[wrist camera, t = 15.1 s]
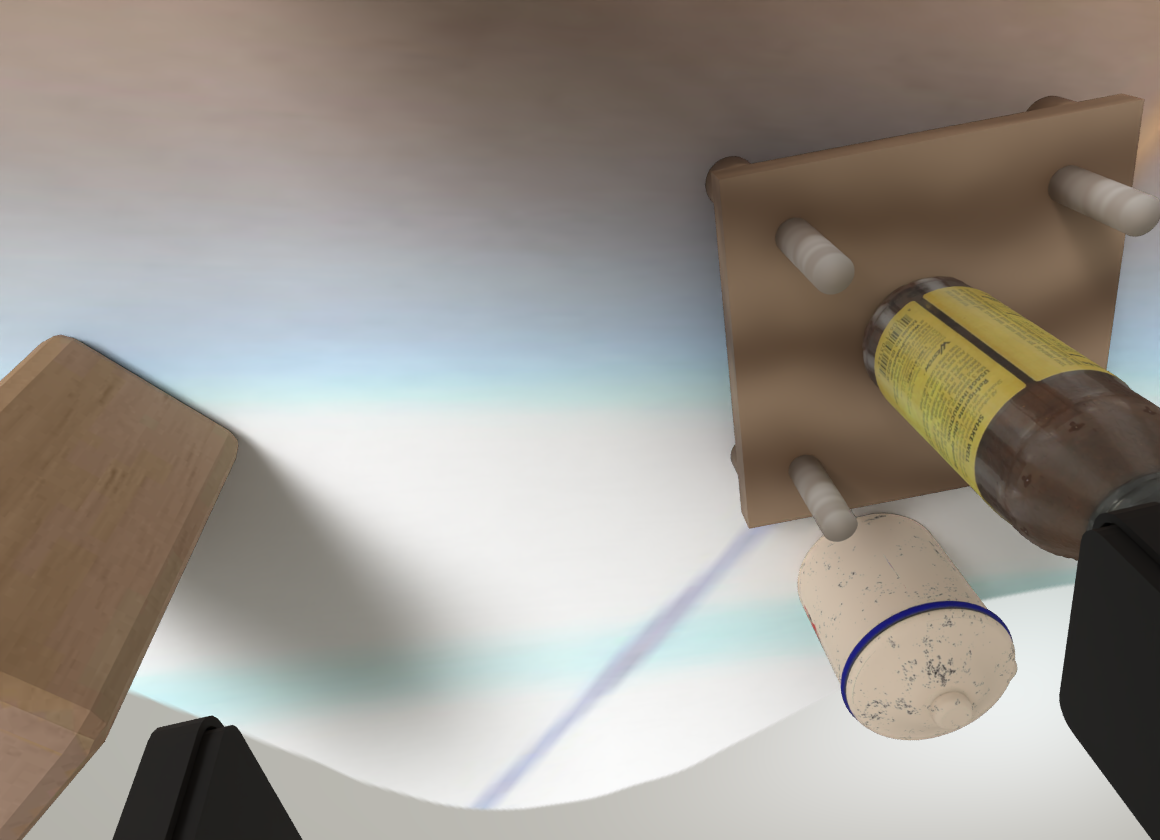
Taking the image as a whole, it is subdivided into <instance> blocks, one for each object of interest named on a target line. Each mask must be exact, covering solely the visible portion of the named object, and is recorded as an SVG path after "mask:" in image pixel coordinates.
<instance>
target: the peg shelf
mask: <svg viewBox="0 0 1160 840" xmlns="http://www.w3.org/2000/svg"><path fill="white" fill-rule="evenodd" d="M1143 106H1144V99H1141V98H1137V97H1133V96H1129V95H1125V94H1117V95H1112V96H1107V97H1102V98H1096V99H1091V100H1086V101H1080V102H1075V101H1072V100H1068V99H1065V98H1061V97H1058V96H1047V97H1044V98H1041V99H1039V100H1038V101H1036V102H1035V103H1034V104H1032V105H1031V106H1030V108H1029V109H1028V110H1027V111H1026V112H1022V113H1017V114H1012V115H1006V116H1001V117H996V118H991V119H985V120H980V121H975V122H970V123H964V124H959V125H954V126H948V127H943V128H938V129H933V130H927V131H922V132H917V133H911V134H906V135H901V136H896V137H890V138H885V139H880V140H874V141H869V142H864V143H859V144H853V145H848V146H843V147H837V148H832V149H827V150H822V151H816V152H811V153H806V154H800V155H795V156H790V157H785V158H779V159H774V160H769V161H763V162H758V163H753V164H750V163H749V162H748V161H747V160H745V159H743V158H741V157H737V156H730V157H726V158H723V159H721V160H719V161H718V162H716V163H715V164H714V165H713V166H712V168H711V169H710V170H709V172H708V175H707V177H706V183H705V186H706V192H707V195H708V197H709V198H710V200H711V201H712V202H713V203H714V210H715V222H716V233H717V244H718V255H719V266H720V277H721V289H722V300H723V311H724V322H725V333H726V344H727V356H728V367H729V378H730V389H731V400H732V411H733V422H734V434H735V445H734V447H733V449H732V451H731V461H732V463H733V466H734V468H735V470H736V472H737V474H738V478H739V489H740V501H741V512H742V514H743V516H744V519H745V521H746V523H747V525H748V527H749V529H750V528H755V527H760V526H765V525H770V524H776V523H781V522H786V521H791V520H796V519H801V518H807V517H812V516H813V517H814V519H815V521H816V523H817V524H818V526H819V528H820V530H821V531H822V533H823V535H824V536H825V538H826V539H828V540H830V541H833V542H840V541H844V540H846V539H848V538H849V537H851V536H852V535H853V534H854V533H855V531H856V529H857V526H858V522H857V519H856V517H855V516H854V514H853V513H852V511H851V510H850V509H853V508H858V507H864V506H869V505H874V504H879V503H884V502H889V501H895V500H900V499H905V498H910V497H915V496H921V495H926V494H931V493H936V492H941V491H946V490H952V489H957V488H962V487H967V486H970V485H969V484H968V483H967V482H966V481H965V480H964V479H963V478H962V477H961V476H960V475H959V474H958V473H957V472H956V471H955V470H954V469H953V468H952V467H951V466H950V465H949V464H948V463H947V462H946V460H945V459H944V458H943V457H942V456H941V455H940V454H939V453H938V452H937V451H936V450H935V449H934V448H933V447H932V446H931V445H930V444H929V443H928V442H927V441H926V440H925V439H924V438H923V437H922V436H921V435H920V434H919V433H918V432H917V431H916V430H915V429H914V428H913V427H912V426H911V425H910V424H909V422H908V421H907V420H906V419H905V418H904V417H903V416H902V415H901V414H900V413H899V412H898V411H897V410H896V409H895V408H894V407H893V406H892V405H891V404H890V403H889V402H888V401H887V400H886V398H885V397H884V396H883V394H882V392H881V391H880V389H879V388H878V387H877V386H876V385H875V384H874V382H873V381H872V380H871V378H870V377H869V375H868V373H867V371H866V369H865V366H864V358H863V348H862V343H863V336H864V332H865V328H866V326H867V324H868V322H869V321H870V319H871V317H872V316H873V314H874V312H875V310H876V309H877V307H878V306H879V305H880V304H881V303H882V302H883V301H884V299H885V298H886V297H887V296H888V295H889V294H890V293H891V292H893V291H894V290H896V289H897V288H898V287H900V286H902V285H906V284H909V283H910V282H912V281H915V280H918V279H924V278H928V277H936V276H945V277H953V278H956V279H958V280H961V281H963V282H964V283H965V284H967V285H969V286H971V287H972V288H974V289H978V290H981V291H983V292H985V293H987V294H989V295H991V296H992V297H994V298H995V299H997V300H998V301H1000V302H1001V303H1003V304H1004V305H1006V306H1008V307H1009V308H1011V309H1012V310H1014V311H1015V312H1017V313H1018V314H1020V315H1021V316H1023V317H1024V318H1026V319H1028V320H1029V321H1031V322H1033V323H1034V324H1036V325H1037V326H1039V327H1040V328H1042V329H1043V330H1045V331H1046V332H1048V333H1049V334H1051V335H1053V336H1054V337H1056V338H1057V339H1059V340H1060V341H1062V342H1063V343H1065V344H1066V345H1068V346H1069V347H1071V348H1073V349H1074V350H1076V351H1077V352H1079V353H1080V354H1082V355H1084V356H1085V357H1087V358H1088V359H1090V360H1091V361H1093V362H1095V363H1096V364H1098V365H1099V366H1101V367H1102V368H1104V369H1106V368H1107V361H1108V354H1109V347H1110V340H1111V333H1112V326H1113V318H1114V311H1115V304H1116V297H1117V290H1118V283H1119V276H1120V269H1121V262H1122V255H1123V248H1124V241H1125V234H1127V235H1129V236H1135V237H1136V236H1141V235H1144V234H1146V233H1148V232H1149V231H1150V230H1152V229H1153V228H1154V227H1155V226H1156V224H1157V223H1158V221H1159V219H1160V200H1159V199H1158V198H1157V197H1155V196H1152V195H1150V194H1147V193H1144V192H1142V191H1139V190H1137V189H1134V188H1132V184H1133V177H1134V170H1135V163H1136V155H1137V148H1138V141H1139V134H1140V127H1141V120H1142V113H1143Z"/></svg>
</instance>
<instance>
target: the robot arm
mask: <svg viewBox="0 0 1160 840" xmlns="http://www.w3.org/2000/svg"><path fill="white" fill-rule="evenodd" d="M1059 697H1060V700H1059V701H1060V706H1061V710H1062V713H1063V716H1064V718H1065V720H1066V723H1067V724H1068V726H1069V728H1070V729H1071V731H1072V732H1073V734H1074V735H1075V736H1076V738H1077V739H1078V741H1079V742H1080V743H1081V744H1082V746H1083V747H1084V749H1085V750H1086V751H1087V753H1088V754H1089V755H1090V757H1091V758H1092V759H1093V761H1094V762H1095V763H1096V765H1097V766H1098V768H1099V769H1100V770H1101V772H1102V773H1103V774H1104V776H1105V777H1106V778H1107V780H1108V781H1109V782H1110V784H1111V785H1112V786H1113V788H1114V789H1115V790H1116V792H1117V793H1118V795H1119V796H1120V797H1121V798H1122V800H1123V801H1124V803H1125V804H1126V805H1127V807H1128V808H1129V809H1130V811H1131V812H1132V813H1133V815H1134V816H1135V817H1136V819H1137V820H1138V822H1139V823H1140V824H1141V826H1142V827H1143V828H1144V830H1145V831H1146V832H1147V834H1148V835H1149V836H1150V838H1151V839H1152V840H1160V503H1158V502H1150V503H1145V504H1141V505H1137V506H1132V507H1128V508H1123V509H1119V510H1114V511H1110V512H1106V513H1102V514H1099V515H1098V516H1097V518H1096V519H1095V521H1094V524H1093V527H1092V530H1088V531H1086V532H1085V533H1084V534H1083V535H1082V539H1081V544H1080V551H1079V558H1078V565H1077V572H1076V579H1075V587H1074V594H1073V601H1072V609H1071V615H1070V623H1069V630H1068V637H1067V644H1066V651H1065V659H1064V666H1063V673H1062V681H1061V687H1060V694H1059ZM113 840H302V838H301V836H300V835H299V833H298V831H297V830H296V828H295V826H294V824H293V822H292V821H291V819H290V818H289V816H288V814H287V812H286V810H285V809H284V807H283V805H282V803H281V802H280V800H279V798H278V797H277V795H276V793H275V792H274V790H273V788H272V786H271V784H270V783H269V781H268V779H267V777H266V776H265V774H264V772H263V771H262V769H261V767H260V765H259V763H258V762H257V760H256V758H255V757H254V755H253V753H252V751H251V750H250V748H249V747H248V744H247V743H246V741H245V739H244V738H243V736H242V734H241V732H240V731H239V730H238V728H237V727H235V726H234V725H230V726H226V727H224V726H223V724H222V723H221V722H220V721H219V719H218V718H216V717H214V716H208V717H203V718H199V719H194V720H190V721H186V722H181V723H177V724H172V725H168V726H163V727H159V728H157V729H156V730H155V731H154V732H153V733H152V734H151V736H150V738H149V740H148V742H147V745H146V748H145V751H144V754H143V756H142V759H141V762H140V764H139V767H138V770H137V773H136V776H135V778H134V781H133V784H132V787H131V789H130V792H129V795H128V798H127V801H126V803H125V806H124V809H123V812H122V814H121V817H120V820H119V823H118V826H117V828H116V831H115V834H114V837H113Z"/></svg>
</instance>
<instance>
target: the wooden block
mask: <svg viewBox="0 0 1160 840" xmlns="http://www.w3.org/2000/svg"><path fill="white" fill-rule="evenodd" d="M237 450H238V441H237V439H236V438H235V437H234V436H233V435H232V433H231V432H230V431H229V430H227V429H225V428H224V427H222V426H220V425H219V424H217V423H215V422H214V421H212V420H210V419H209V418H207V417H205V416H204V415H202V414H200V413H199V412H197V411H195V410H194V409H192V408H190V407H189V406H187V405H185V404H184V403H182V402H180V401H179V400H177V399H175V398H174V397H172V396H170V395H169V394H167V393H165V392H163V391H162V390H160V389H158V388H157V387H155V386H153V385H152V384H150V383H148V382H147V381H145V380H143V379H142V378H140V377H138V376H137V375H135V374H133V373H132V372H130V371H128V370H127V369H125V368H123V367H122V366H120V365H118V364H117V363H115V362H113V361H112V360H110V359H108V358H107V357H105V356H103V355H102V354H100V353H98V352H97V351H95V350H93V349H92V348H90V347H88V346H87V345H85V344H83V343H82V342H80V341H78V340H77V339H74V338H71V337H67V336H64V335H57V336H53V337H51V338H50V339H48V340H46V341H44V342H42V343H41V344H40V345H38V346H37V347H36V348H35V349H34V350H33V351H32V352H31V353H30V354H29V355H28V356H27V357H26V358H25V359H24V360H22V361H21V362H20V363H19V364H18V365H17V366H16V367H15V368H14V369H13V370H12V371H11V372H10V373H9V374H7V375H6V376H5V377H4V378H3V379H2V380H1V381H0V840H22V839H23V838H24V837H25V835H26V834H27V833H28V832H29V831H30V829H31V828H32V827H33V826H34V825H35V824H36V822H37V821H38V820H39V819H40V817H42V815H43V814H44V813H45V812H46V810H47V809H48V808H49V807H50V806H51V804H52V803H53V802H54V801H55V800H56V799H57V798H58V796H59V795H60V794H61V793H62V792H63V790H64V789H65V788H66V787H67V786H68V785H69V783H70V782H71V781H72V780H73V779H74V777H75V776H76V775H77V774H78V772H80V770H81V769H82V768H83V767H84V766H85V764H86V763H87V762H88V761H89V760H90V758H91V757H92V756H93V755H94V754H95V753H96V751H97V750H98V749H99V748H100V747H101V745H102V744H103V743H104V742H105V740H106V738H107V736H108V734H109V731H110V729H111V727H112V725H113V723H114V720H115V718H116V716H117V714H118V712H119V710H120V708H121V705H122V703H123V701H124V699H125V697H126V695H127V692H128V690H129V688H130V686H131V684H132V682H133V680H134V677H135V675H136V673H137V671H138V669H139V667H140V664H141V662H142V660H143V658H144V656H145V654H146V651H147V649H148V647H149V645H150V643H151V641H152V638H153V636H154V634H155V632H156V630H157V628H158V626H159V623H160V621H161V619H162V617H163V615H164V613H165V610H166V608H167V606H168V604H169V602H170V600H171V597H172V595H173V593H174V591H175V589H176V587H177V584H178V582H179V580H180V578H181V576H182V574H183V572H184V569H185V567H186V565H187V563H188V561H189V559H190V556H191V554H192V552H193V550H194V548H195V546H196V543H197V541H198V539H199V537H200V535H201V533H202V530H203V528H204V526H205V524H206V522H207V520H208V517H209V515H210V513H211V511H212V509H213V507H214V505H215V502H216V500H217V498H218V496H219V494H220V492H221V489H222V487H223V485H224V483H225V481H226V479H227V476H228V474H229V472H230V470H231V468H232V466H233V463H234V461H235V459H236V455H237Z"/></svg>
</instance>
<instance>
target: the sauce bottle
mask: <svg viewBox="0 0 1160 840" xmlns="http://www.w3.org/2000/svg"><path fill="white" fill-rule="evenodd" d="M862 348H863V358H864V366H865V369H866V371H867V373H868V375H869V377H870V378H871V380H872V381H873V382H874V384H875V385H876V386H877V387H878V388H879V389H880V391H881V392H882V394H883V396H884V397H885V398H886V400H887V401H888V402H889V403H890V404H891V405H892V406H893V407H894V408H895V409H896V410H897V411H898V412H899V413H900V414H901V415H902V416H903V417H904V418H905V419H906V420H907V421H908V422H909V424H910V425H911V426H912V427H913V428H914V429H915V430H916V431H917V432H918V433H919V434H920V435H921V436H922V437H923V438H924V439H925V440H926V441H927V442H928V443H929V444H930V445H931V446H932V447H933V448H934V449H935V450H936V451H937V452H938V453H939V454H940V455H941V456H942V457H943V458H944V459H945V460H946V462H947V463H948V464H949V465H950V466H951V467H952V468H953V469H954V470H955V471H956V472H957V473H958V474H959V475H960V476H961V477H962V478H963V479H964V480H965V481H966V482H967V483H968V484H969V485H970V486H971V487H972V489H973V490H974V491H975V492H976V493H977V494H978V495H979V496H980V497H981V498H982V499H983V500H984V501H985V502H986V503H987V504H988V505H989V506H990V507H991V508H992V509H993V510H994V511H995V512H996V513H997V514H998V515H999V516H1001V517H1002V518H1003V519H1004V520H1006V521H1007V522H1008V523H1010V524H1011V525H1012V526H1013V527H1014V528H1015V529H1016V530H1017V531H1018V532H1019V533H1020V534H1021V535H1022V536H1024V537H1025V538H1026V539H1028V540H1029V541H1030V542H1032V543H1033V544H1035V545H1037V546H1038V547H1040V548H1041V549H1044V550H1046V551H1048V552H1050V553H1053V554H1055V555H1058V556H1063V557H1066V558H1073V559H1075V560H1076V561H1077V560H1078V558H1079V551H1080V544H1081V539H1082V535H1083V534H1084V533H1085V532H1086V531H1088V530H1092V527H1093V524H1094V521H1095V519H1096V518H1097V516H1098V515H1099V514H1102V513H1106V512H1110V511H1114V510H1119V509H1123V508H1128V507H1132V506H1137V505H1141V504H1145V503H1150V502H1158V503H1160V408H1159V407H1158V406H1156V405H1155V404H1153V403H1152V402H1150V401H1149V400H1147V399H1145V398H1143V397H1142V396H1140V395H1139V394H1137V393H1135V392H1134V391H1133V390H1131V389H1130V388H1129V387H1128V385H1127V384H1126V383H1125V382H1123V381H1122V380H1121V379H1119V378H1118V377H1117V376H1115V375H1114V374H1112V373H1110V372H1109V371H1107V370H1106V369H1104V368H1102V367H1101V366H1099V365H1098V364H1096V363H1095V362H1093V361H1091V360H1090V359H1088V358H1087V357H1085V356H1084V355H1082V354H1080V353H1079V352H1077V351H1076V350H1074V349H1073V348H1071V347H1069V346H1068V345H1066V344H1065V343H1063V342H1062V341H1060V340H1059V339H1057V338H1056V337H1054V336H1053V335H1051V334H1049V333H1048V332H1046V331H1045V330H1043V329H1042V328H1040V327H1039V326H1037V325H1036V324H1034V323H1033V322H1031V321H1029V320H1028V319H1026V318H1024V317H1023V316H1021V315H1020V314H1018V313H1017V312H1015V311H1014V310H1012V309H1011V308H1009V307H1008V306H1006V305H1004V304H1003V303H1001V302H1000V301H998V300H997V299H995V298H994V297H992V296H991V295H989V294H987V293H985V292H983V291H981V290H978V289H974V288H972V287H971V286H969V285H967V284H965V283H964V282H963V281H961V280H958V279H956V278H953V277H945V276H936V277H928V278H924V279H918V280H915V281H912V282H910V283H909V284H906V285H902V286H900V287H898V288H897V289H896V290H894V291H893V292H891V293H890V294H889V295H888V296H887V297H886V298H885V299H884V301H883V302H882V303H881V304H880V305H879V306H878V307H877V309H876V310H875V312H874V314H873V316H872V317H871V319H870V321H869V322H868V324H867V326H866V328H865V332H864V336H863V343H862Z"/></svg>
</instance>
